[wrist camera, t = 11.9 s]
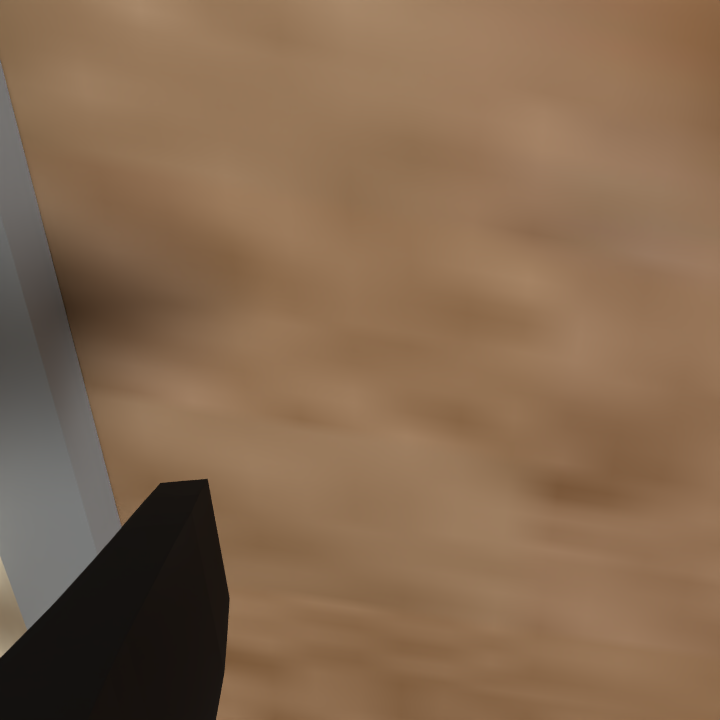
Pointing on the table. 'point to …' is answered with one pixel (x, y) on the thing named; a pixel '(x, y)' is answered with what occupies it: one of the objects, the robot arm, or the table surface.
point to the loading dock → (41, 408)
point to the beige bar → (9, 614)
